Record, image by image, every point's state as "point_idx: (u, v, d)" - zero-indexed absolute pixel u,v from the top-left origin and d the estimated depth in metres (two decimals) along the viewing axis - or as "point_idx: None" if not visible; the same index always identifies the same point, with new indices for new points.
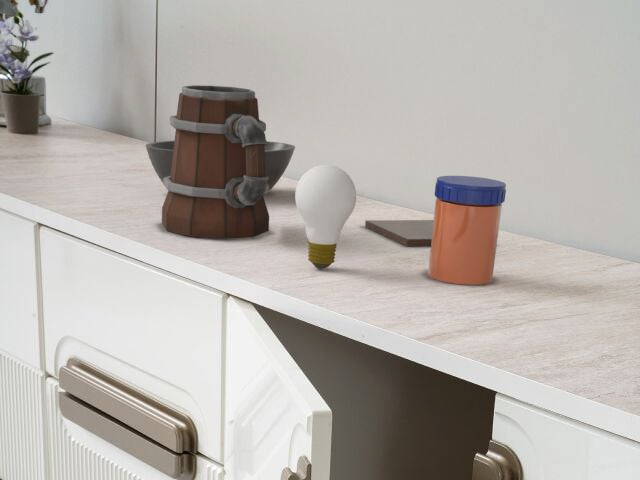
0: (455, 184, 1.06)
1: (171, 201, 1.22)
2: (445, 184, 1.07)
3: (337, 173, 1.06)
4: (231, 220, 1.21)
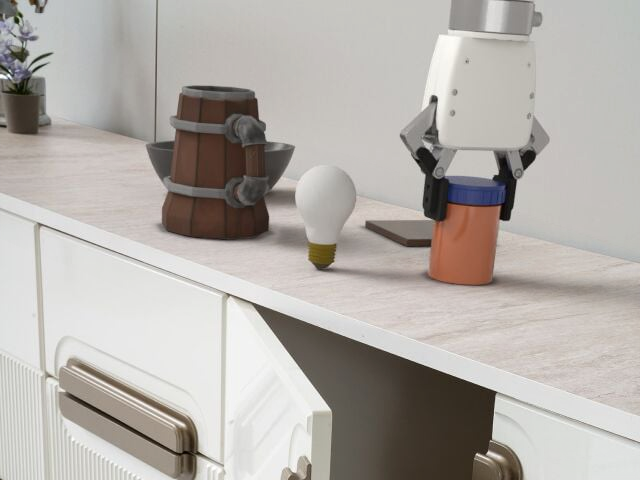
0: (455, 184, 1.06)
1: (171, 201, 1.22)
2: None
3: (337, 173, 1.06)
4: (231, 220, 1.21)
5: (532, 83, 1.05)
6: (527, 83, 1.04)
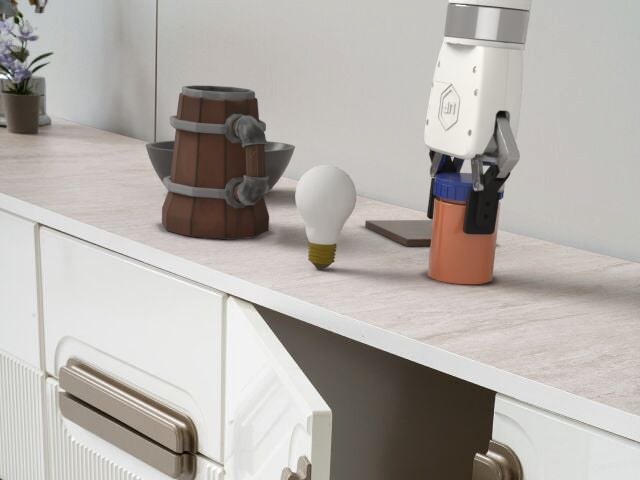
0: None
1: (171, 201, 1.22)
2: None
3: (337, 173, 1.06)
4: (231, 220, 1.21)
5: None
6: None
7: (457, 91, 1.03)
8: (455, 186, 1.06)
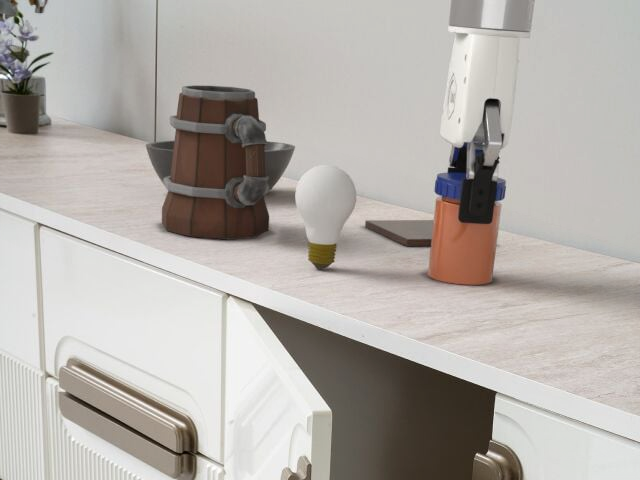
0: None
1: (171, 201, 1.22)
2: None
3: (337, 173, 1.06)
4: (231, 220, 1.21)
5: None
6: None
7: (455, 79, 1.03)
8: None
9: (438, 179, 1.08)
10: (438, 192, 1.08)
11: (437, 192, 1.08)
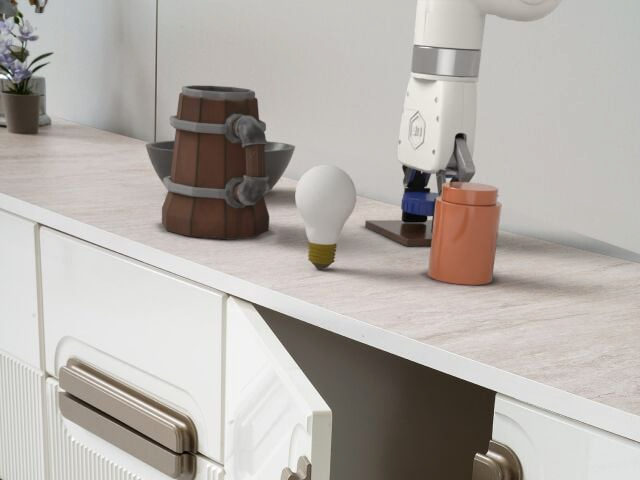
0: None
1: (171, 201, 1.22)
2: None
3: (337, 173, 1.06)
4: (231, 220, 1.21)
5: None
6: None
7: (423, 117, 1.24)
8: None
9: (408, 200, 1.28)
10: (409, 210, 1.28)
11: (407, 210, 1.29)
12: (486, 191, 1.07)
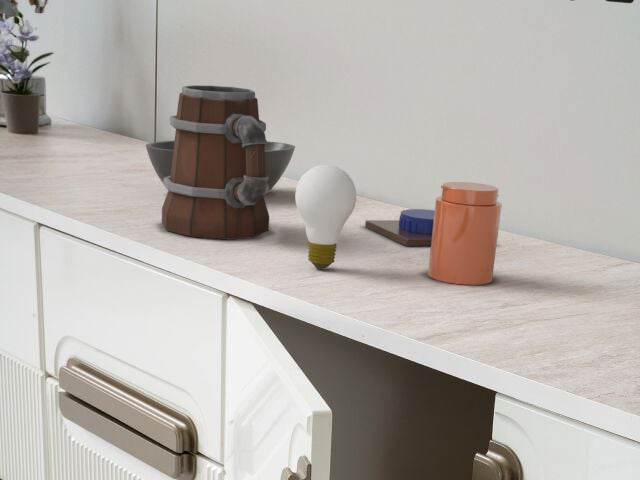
0: None
1: (171, 201, 1.22)
2: None
3: (337, 173, 1.06)
4: (231, 220, 1.21)
5: None
6: None
7: None
8: None
9: (405, 217, 1.29)
10: (406, 228, 1.29)
11: (405, 228, 1.29)
12: (486, 191, 1.07)
